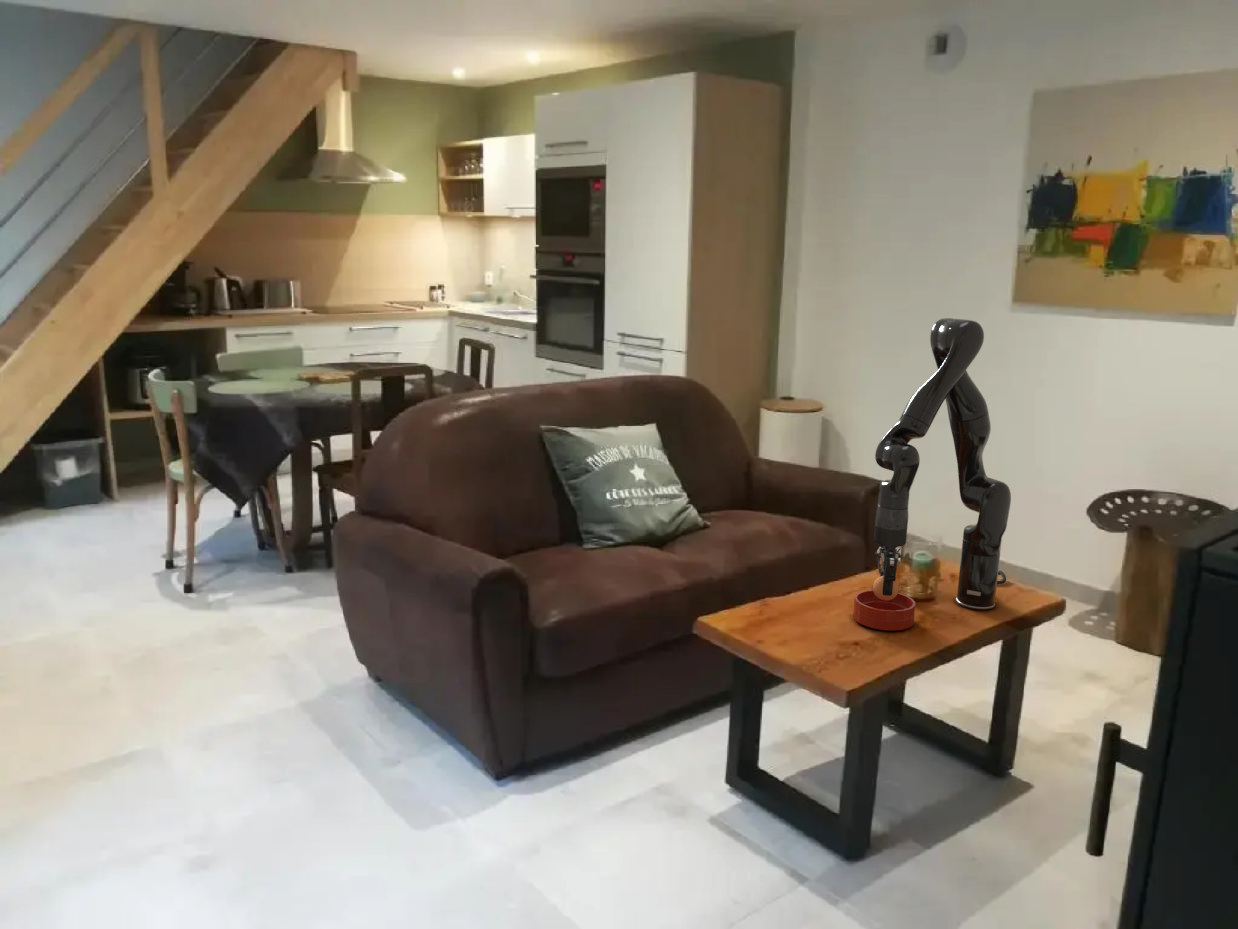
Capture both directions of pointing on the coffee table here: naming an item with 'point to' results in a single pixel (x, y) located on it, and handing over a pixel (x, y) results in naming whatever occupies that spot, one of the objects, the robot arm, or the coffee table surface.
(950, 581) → the coffee table surface
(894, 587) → the peach
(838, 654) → the coffee table surface
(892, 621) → the bowl
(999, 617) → the coffee table surface
